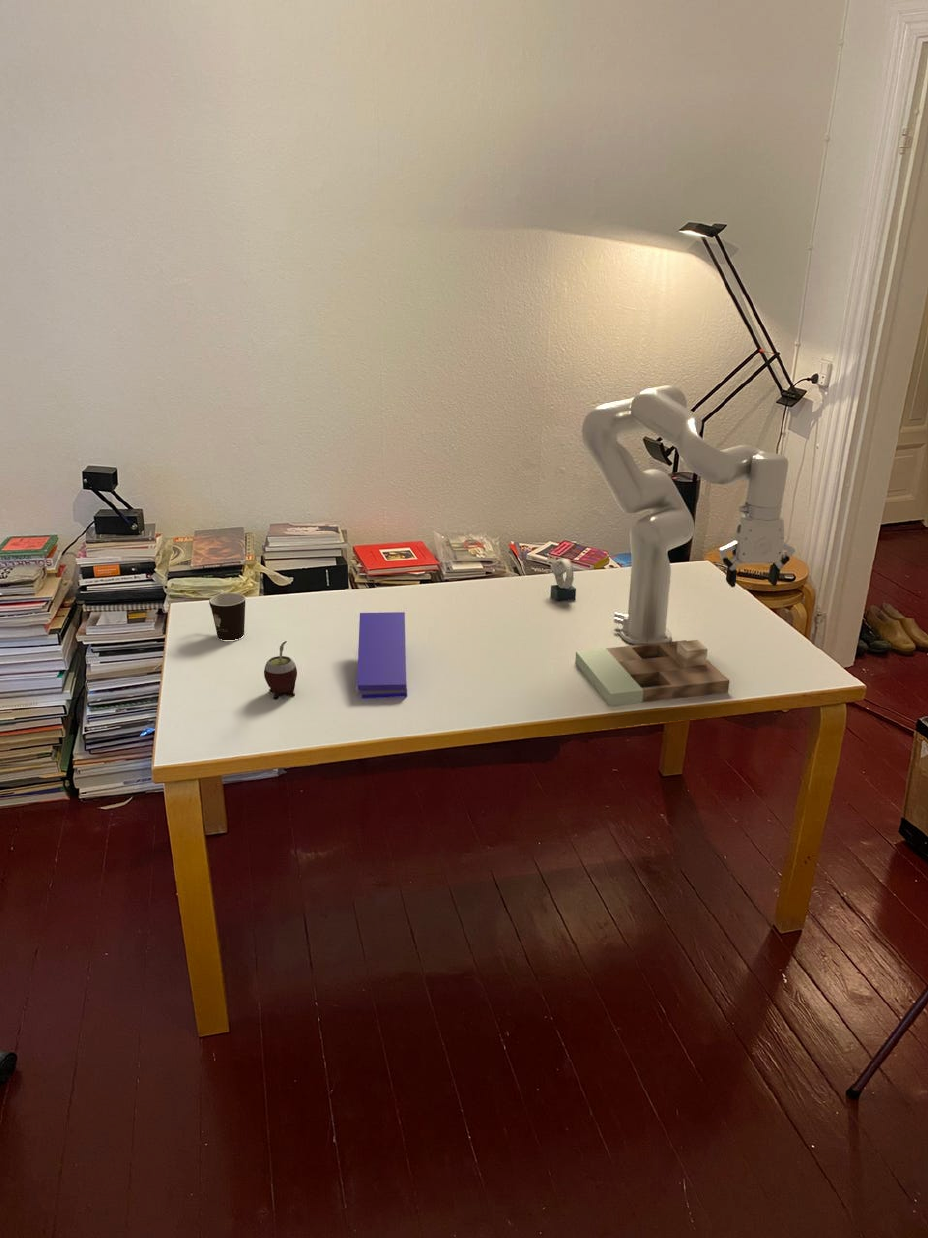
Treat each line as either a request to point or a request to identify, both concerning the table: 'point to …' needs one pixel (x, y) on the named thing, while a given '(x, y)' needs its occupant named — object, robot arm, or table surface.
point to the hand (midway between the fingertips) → (751, 584)
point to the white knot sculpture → (563, 588)
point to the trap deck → (668, 672)
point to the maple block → (691, 653)
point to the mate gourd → (281, 675)
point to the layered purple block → (382, 655)
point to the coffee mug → (228, 615)
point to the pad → (609, 677)
